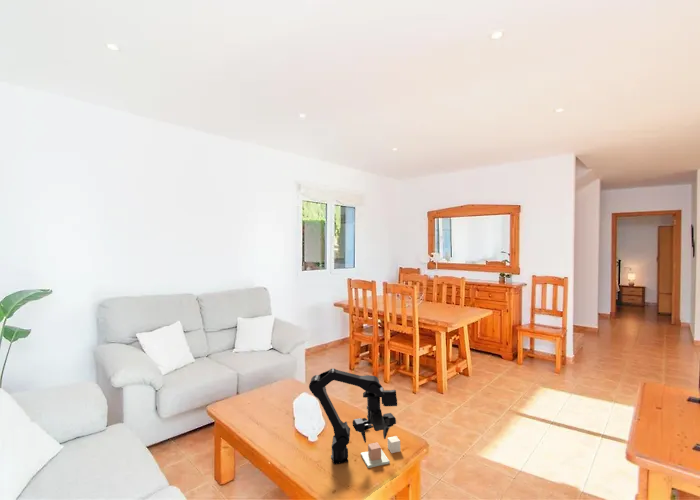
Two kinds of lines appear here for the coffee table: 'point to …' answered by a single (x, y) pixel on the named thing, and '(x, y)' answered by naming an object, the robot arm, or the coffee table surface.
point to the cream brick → (394, 444)
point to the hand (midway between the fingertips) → (374, 440)
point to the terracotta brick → (374, 451)
